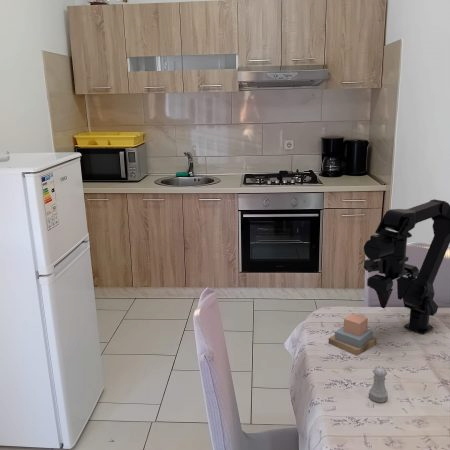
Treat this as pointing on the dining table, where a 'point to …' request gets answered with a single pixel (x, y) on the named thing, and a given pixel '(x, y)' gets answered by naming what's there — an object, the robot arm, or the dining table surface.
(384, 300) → the robot arm
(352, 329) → the terracotta block
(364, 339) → the slate top block
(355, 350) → the walnut base block
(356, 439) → the dining table surface
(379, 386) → the grey chess pawn
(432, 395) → the dining table surface
